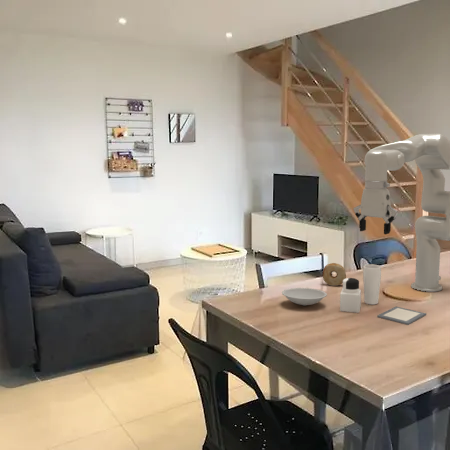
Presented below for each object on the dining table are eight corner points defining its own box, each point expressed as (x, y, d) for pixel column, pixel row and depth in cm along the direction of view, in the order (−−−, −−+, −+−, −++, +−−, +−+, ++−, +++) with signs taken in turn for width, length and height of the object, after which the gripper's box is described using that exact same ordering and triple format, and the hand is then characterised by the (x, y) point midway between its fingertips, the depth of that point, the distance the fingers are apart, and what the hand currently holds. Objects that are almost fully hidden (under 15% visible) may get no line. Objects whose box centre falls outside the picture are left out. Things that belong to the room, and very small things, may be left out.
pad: (395, 307, 198) (395, 306, 198) (426, 314, 190) (426, 313, 190) (377, 317, 189) (377, 315, 189) (408, 324, 180) (408, 323, 180)
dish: (328, 301, 208) (329, 289, 207) (324, 313, 194) (324, 300, 194) (286, 298, 213) (286, 286, 213) (278, 309, 200) (278, 296, 199)
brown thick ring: (321, 285, 230) (321, 263, 229) (323, 283, 234) (323, 261, 232) (344, 287, 227) (345, 265, 225) (346, 285, 230) (346, 263, 228)
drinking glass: (380, 306, 201) (382, 268, 198) (362, 305, 202) (363, 268, 200) (379, 300, 207) (380, 264, 205) (361, 300, 209) (362, 264, 206)
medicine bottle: (360, 307, 200) (361, 277, 198) (359, 313, 194) (359, 282, 192) (341, 305, 203) (342, 276, 201) (339, 311, 196) (340, 280, 194)
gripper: (403, 186, 182) (401, 233, 185) (360, 183, 194) (359, 228, 197) (393, 187, 177) (391, 236, 180) (349, 185, 189) (348, 231, 192)
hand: (374, 232), depth 188 cm, fingers open, 9 cm apart
